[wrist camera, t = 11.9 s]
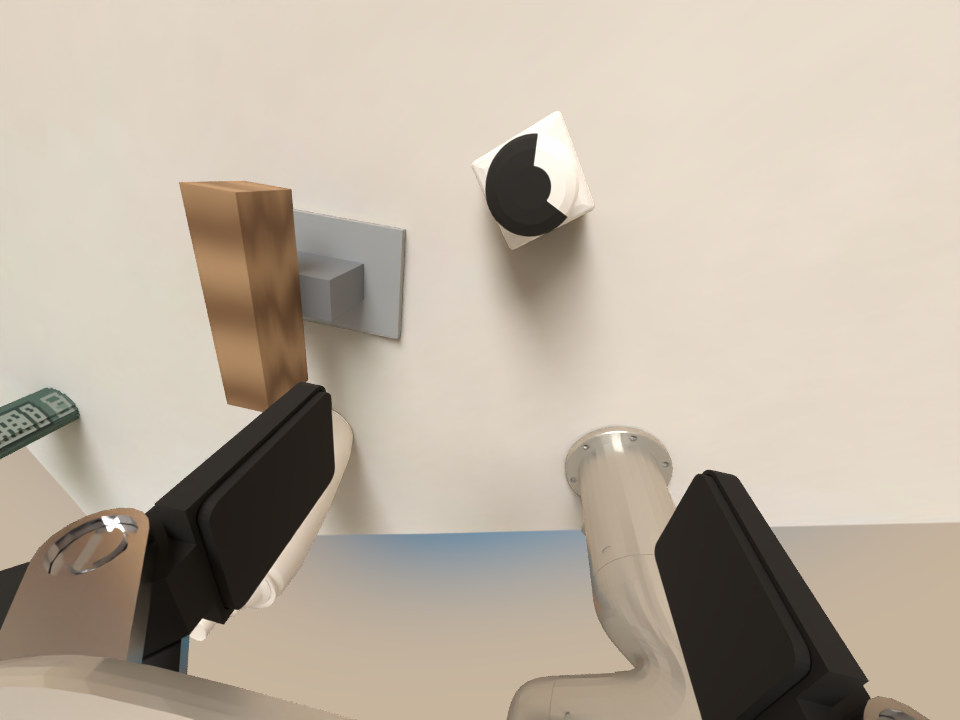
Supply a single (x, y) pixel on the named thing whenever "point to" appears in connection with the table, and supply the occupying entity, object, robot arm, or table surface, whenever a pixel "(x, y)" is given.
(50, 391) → the can
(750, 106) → the table surface
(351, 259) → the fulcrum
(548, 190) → the medicine bottle
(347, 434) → the spray can
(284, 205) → the walnut bar
